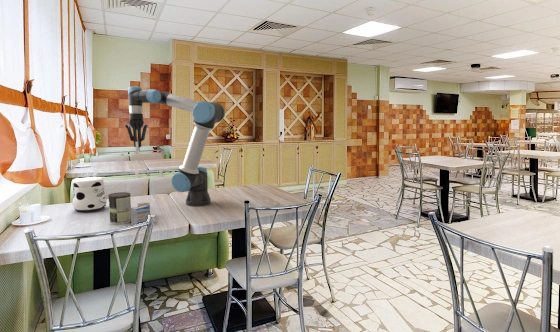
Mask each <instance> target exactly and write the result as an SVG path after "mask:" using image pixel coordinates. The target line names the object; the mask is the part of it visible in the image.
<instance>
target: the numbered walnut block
mask: <svg viewBox="0 0 560 332" xmlns="http://www.w3.org/2000/svg"><path fill="white" fill-rule="evenodd" d="M143 205H147V206H150V207H151V204H150V202H140V203H137V207H139V206H143Z"/></svg>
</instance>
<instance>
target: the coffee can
mask: <svg viewBox="0 0 560 332" xmlns="http://www.w3.org/2000/svg"><path fill="white" fill-rule="evenodd" d="M107 196H108V197H107V198H108V207H109V208H108V209H109V223H110V224H113V225H120V224H126V223H129V222H131V208H132V205H131V202H132V201H131V193H130V192H127V191H125V192H124V191H123V192H122V191H121V192H113V193H110V194H108V195H107Z"/></svg>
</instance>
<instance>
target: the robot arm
mask: <svg viewBox="0 0 560 332" xmlns="http://www.w3.org/2000/svg"><path fill="white" fill-rule="evenodd" d="M127 97H128V111H129V114H128V115H129V122H128V123H127V124H125V126H124V127H125V128H126V130H127V133H128V136H129V139H130V141H132V142H133V146H134V148H135V153H137V154H139V153H141V147H142V141H145V138H146V133H147V128H148V127H149V125H148V124H146V123H145V121H144V114H143V112H144V110H143V104H160V105H164V106H169V107H172V108H176V109H179V110H183V111H187V112H190V113H192V116H193V117H192V118H193V121H192V122H193V125H194V127H193V131H192V135H191V137H190V139H189V143H188V147H187V149H186V152H185V156H184V159H183V163H182V164H180V165H179V166H178V169H177V171H176V172H175V173H174V174H173V175H172V176H171V185H172V186H173V188H174V189H175V191H177V192H178V193H186V192H187V196H186V199H185V205H186V206H190V207H202V206H203V207H204V206H207V205H210V204H211V203H212V202H211V197H210V193H209V192H208V190H209V189H208V186H209V185H208V169H207V168H206V167H203V166H202V167H200V166H199V165H200V161H201V158H202V155H203V153H204V149H205V146H206V144H207V140H208V138H209V135H210V132H211V130H214V128H215V125H216V123H220V122H222V121H223V120H224V118H225V115H226V110H225V107H224V105H222V104H220V103H219V102H214V101H208V100H205V101H204V100H203V101H200V100H196V99H192V98H189V97H185V96H181V95H177V94H173V93H170V92H167V91H160V90H158V89H154V88H153V89H142V87H141V86H128V88H127Z"/></svg>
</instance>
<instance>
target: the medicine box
mask: <svg viewBox="0 0 560 332" xmlns="http://www.w3.org/2000/svg"><path fill="white" fill-rule="evenodd" d="M148 215H150V216H151V205H150V206H147V205H143V206H139V207H138V206H135V207H131V221H130V222H131V225H132V226H134V225H135V224H139V223H143V222H146V221H147V219H148Z"/></svg>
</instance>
